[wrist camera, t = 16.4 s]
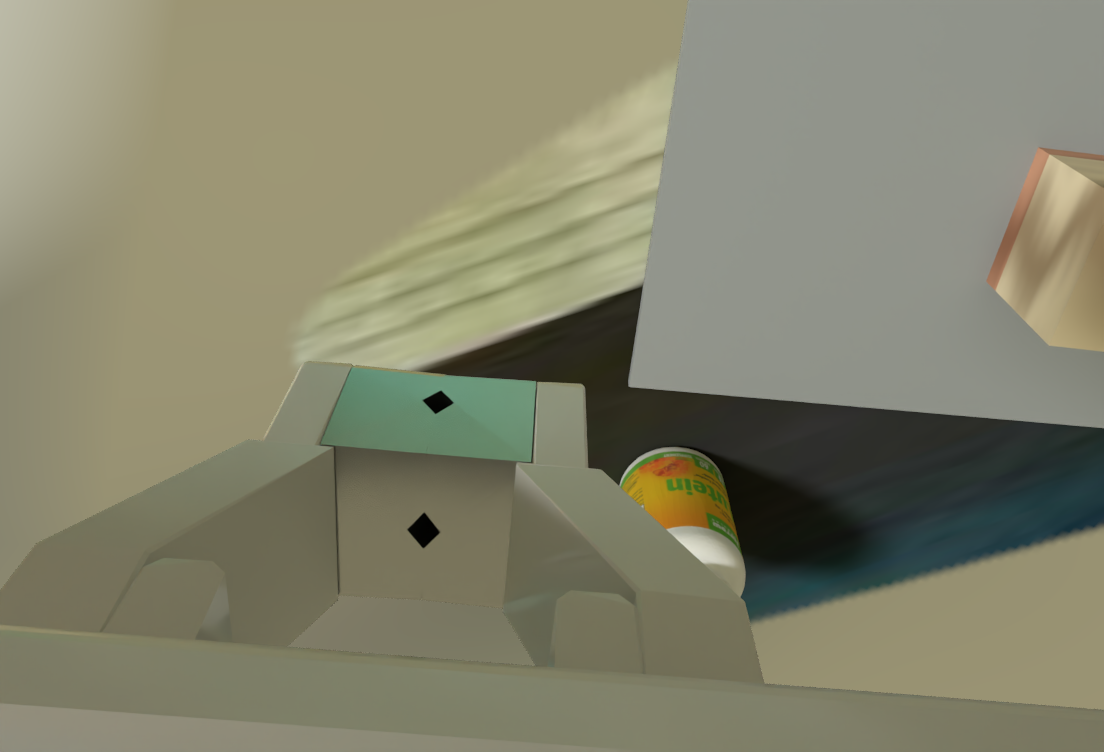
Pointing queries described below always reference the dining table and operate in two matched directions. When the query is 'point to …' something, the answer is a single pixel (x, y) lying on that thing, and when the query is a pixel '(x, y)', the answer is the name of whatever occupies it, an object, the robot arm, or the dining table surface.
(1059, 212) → the birch block
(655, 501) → the supplement bottle
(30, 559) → the robot arm
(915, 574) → the dining table surface
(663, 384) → the slate mat
